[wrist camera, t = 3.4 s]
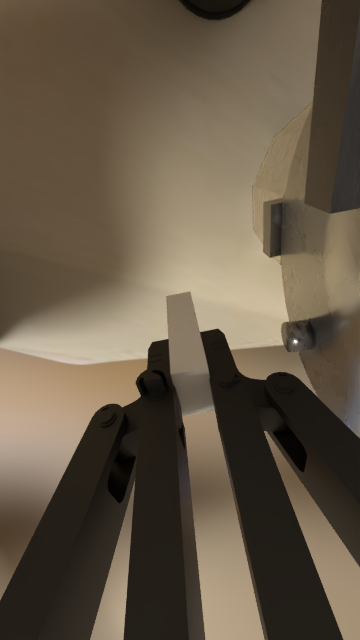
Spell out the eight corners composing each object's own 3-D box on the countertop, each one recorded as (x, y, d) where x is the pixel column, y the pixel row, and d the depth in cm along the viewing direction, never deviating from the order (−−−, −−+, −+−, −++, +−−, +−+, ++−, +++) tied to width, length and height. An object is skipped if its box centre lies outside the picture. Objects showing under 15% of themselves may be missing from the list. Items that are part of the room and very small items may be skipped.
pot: (242, 294, 32) (268, 335, 24) (227, 16, 18) (276, -83, 11) (378, 266, 31) (449, 300, 23) (467, -45, 18) (696, -196, 10)
